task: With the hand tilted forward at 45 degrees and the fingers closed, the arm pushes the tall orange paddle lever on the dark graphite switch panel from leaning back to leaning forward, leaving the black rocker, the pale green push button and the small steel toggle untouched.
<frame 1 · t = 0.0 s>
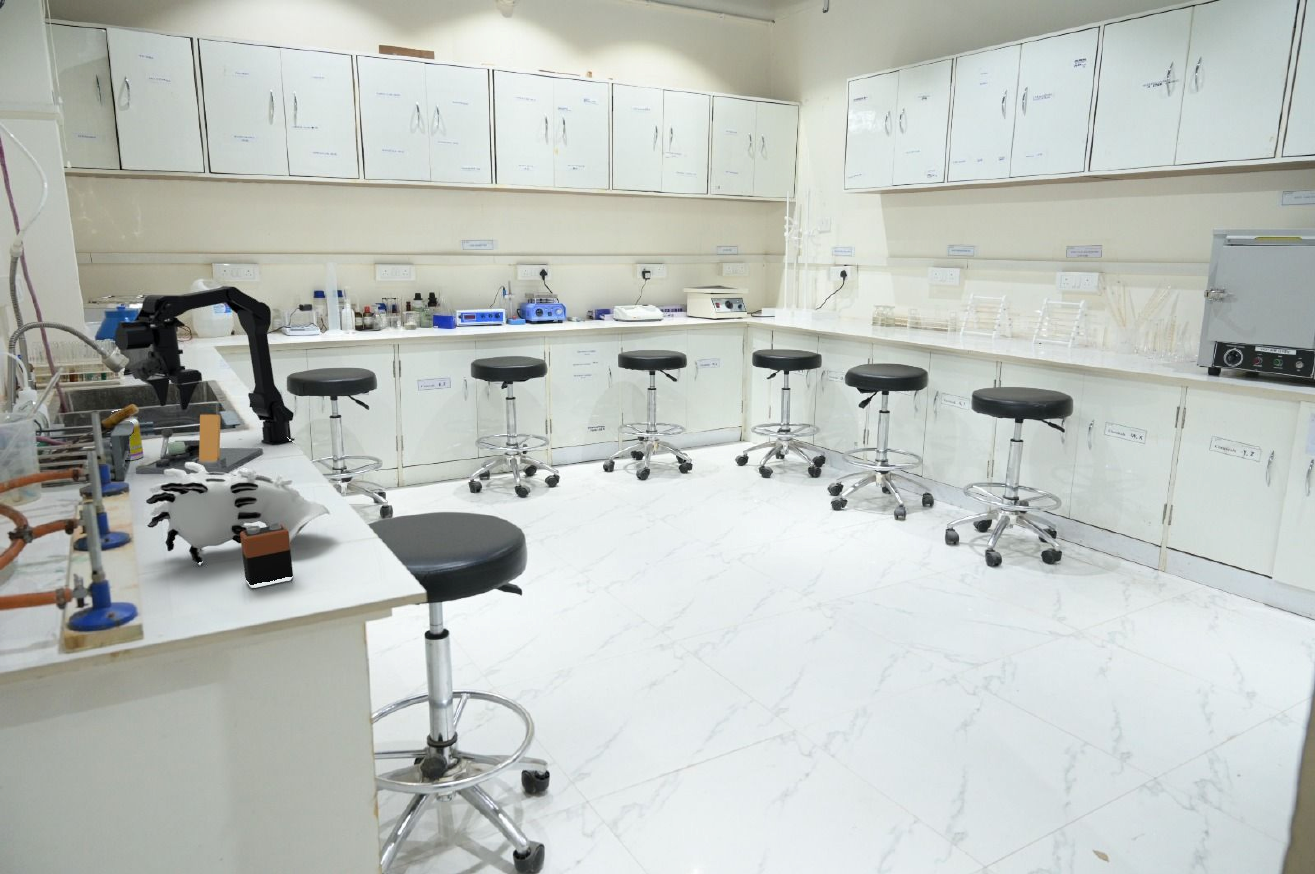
hand: (173, 407, 211), 15 cm above the countertop, tool pointing down, fingers open, 9 cm apart
battery: (269, 582, 141), on the countertop
paddle: (209, 440, 206), point 8 cm above the countertop, hinge at -15.0°
rocker: (190, 442, 220), point 4 cm above the countertop, hinge at -12.0°
yellow bottle: (129, 459, 220), on the countertop
toggle: (165, 443, 209), point 6 cm above the countertop, hinge at -30.0°
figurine: (247, 551, 155), on the countertop
panel: (202, 463, 215), on the countertop
button: (176, 447, 214), point 4 cm above the countertop, slide at 0.0 cm
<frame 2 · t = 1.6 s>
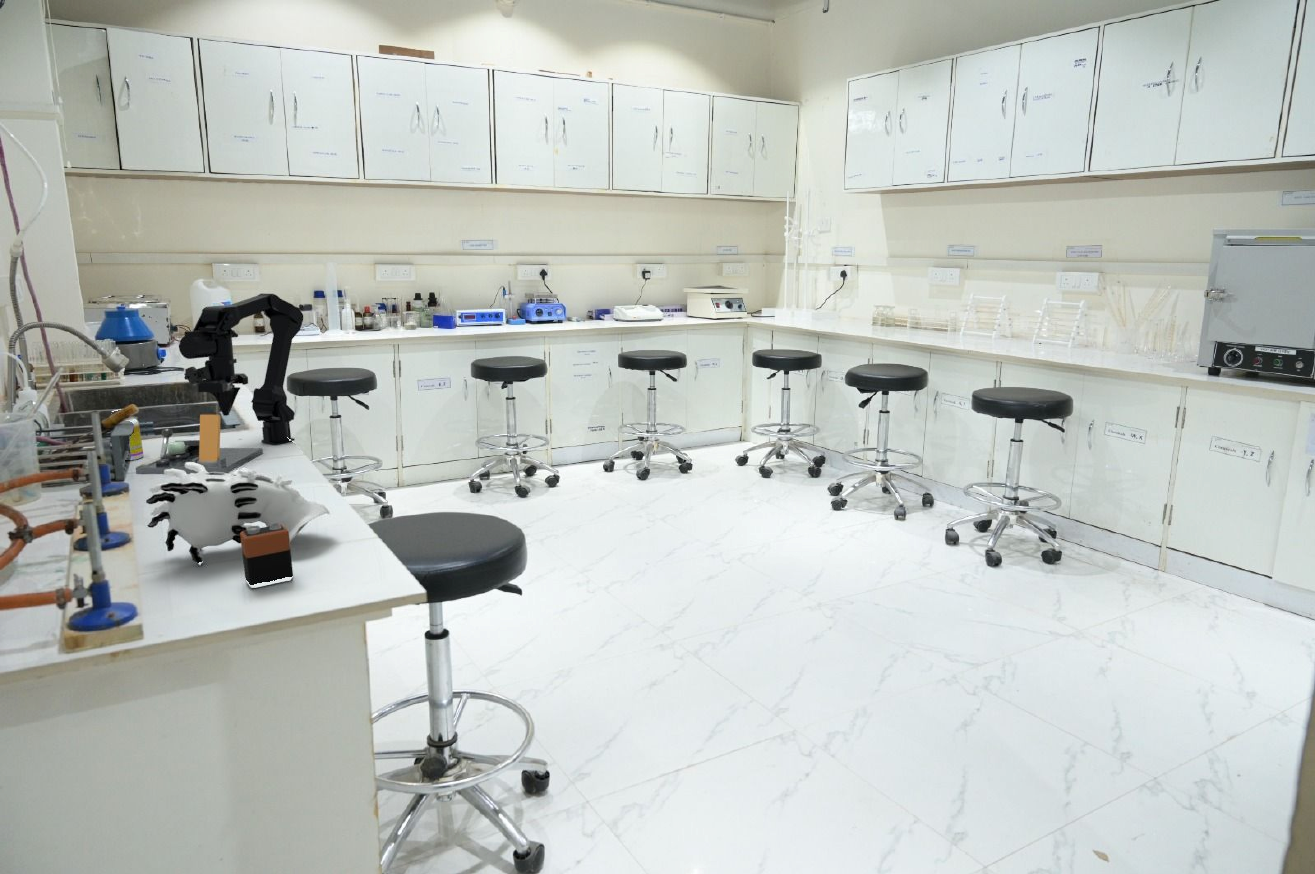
hand: (226, 415, 219), 11 cm above the countertop, tool pointing down, fingers closed
nothing on the countertop moved.
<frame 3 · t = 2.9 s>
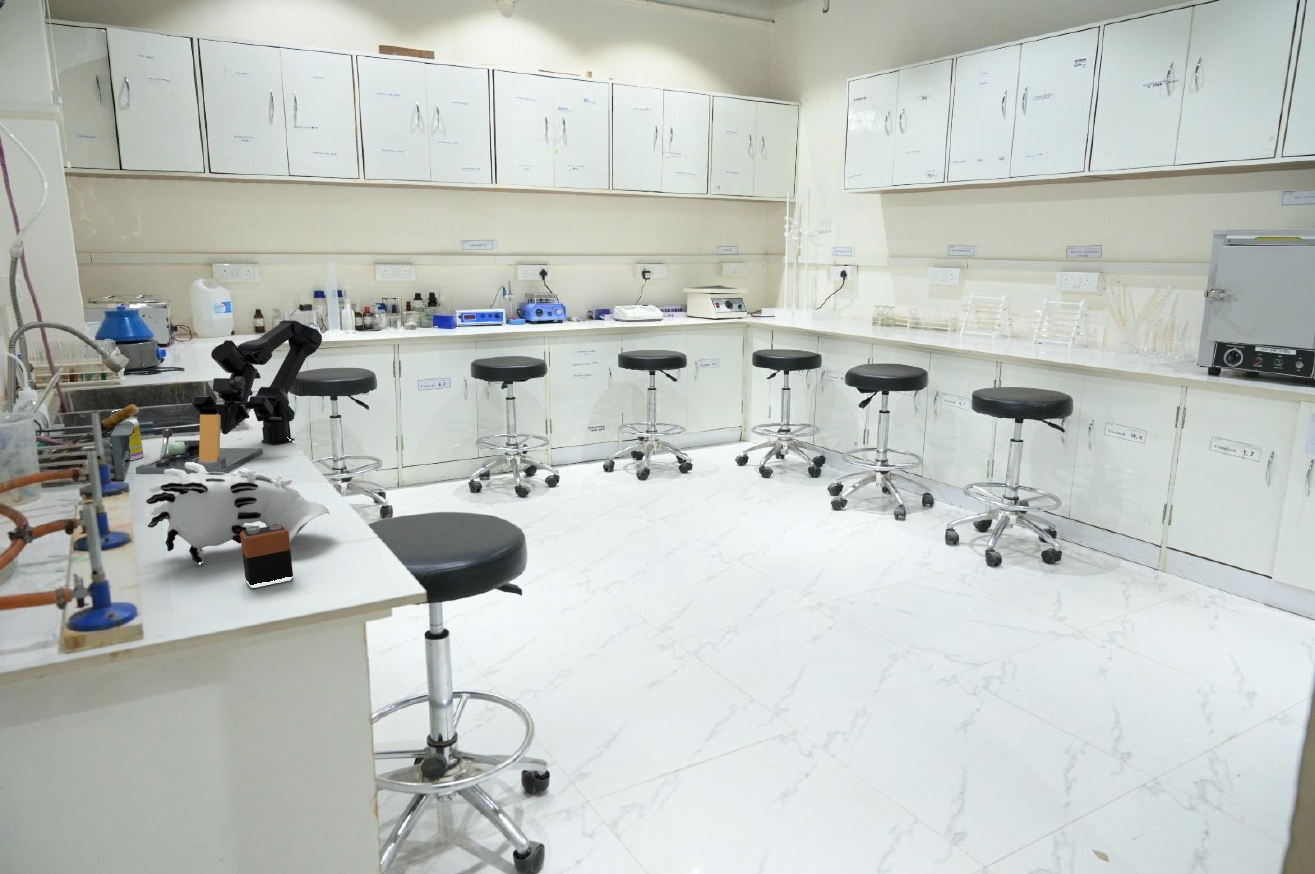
hand: (224, 433, 213), 8 cm above the countertop, tool tilted 45°, fingers closed
nothing on the countertop moved.
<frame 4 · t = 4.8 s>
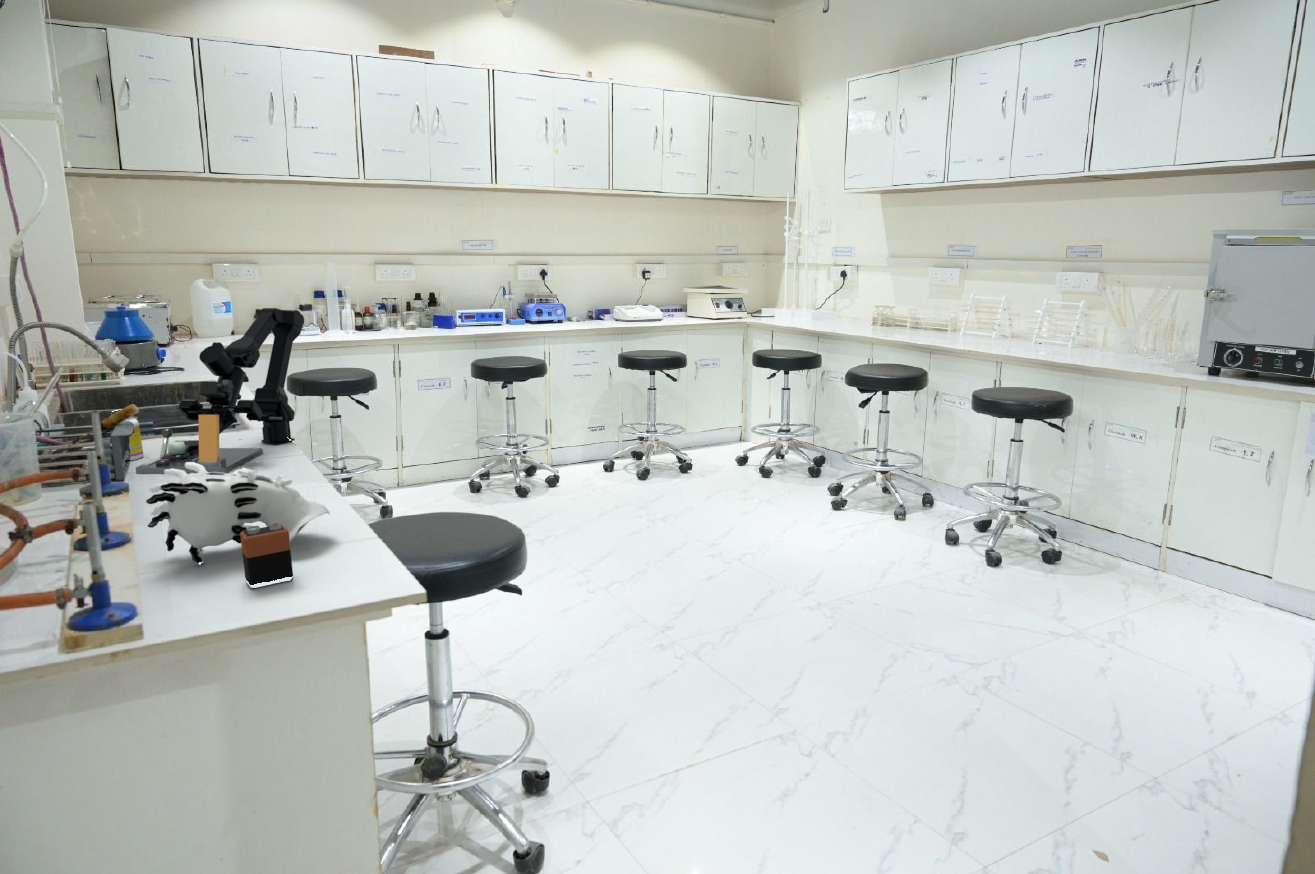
hand: (211, 438, 206), 8 cm above the countertop, tool tilted 45°, fingers closed, pressing on paddle
paddle: (209, 440, 205), point 8 cm above the countertop, hinge at -11.7°, touching gripper
everything else where it was.
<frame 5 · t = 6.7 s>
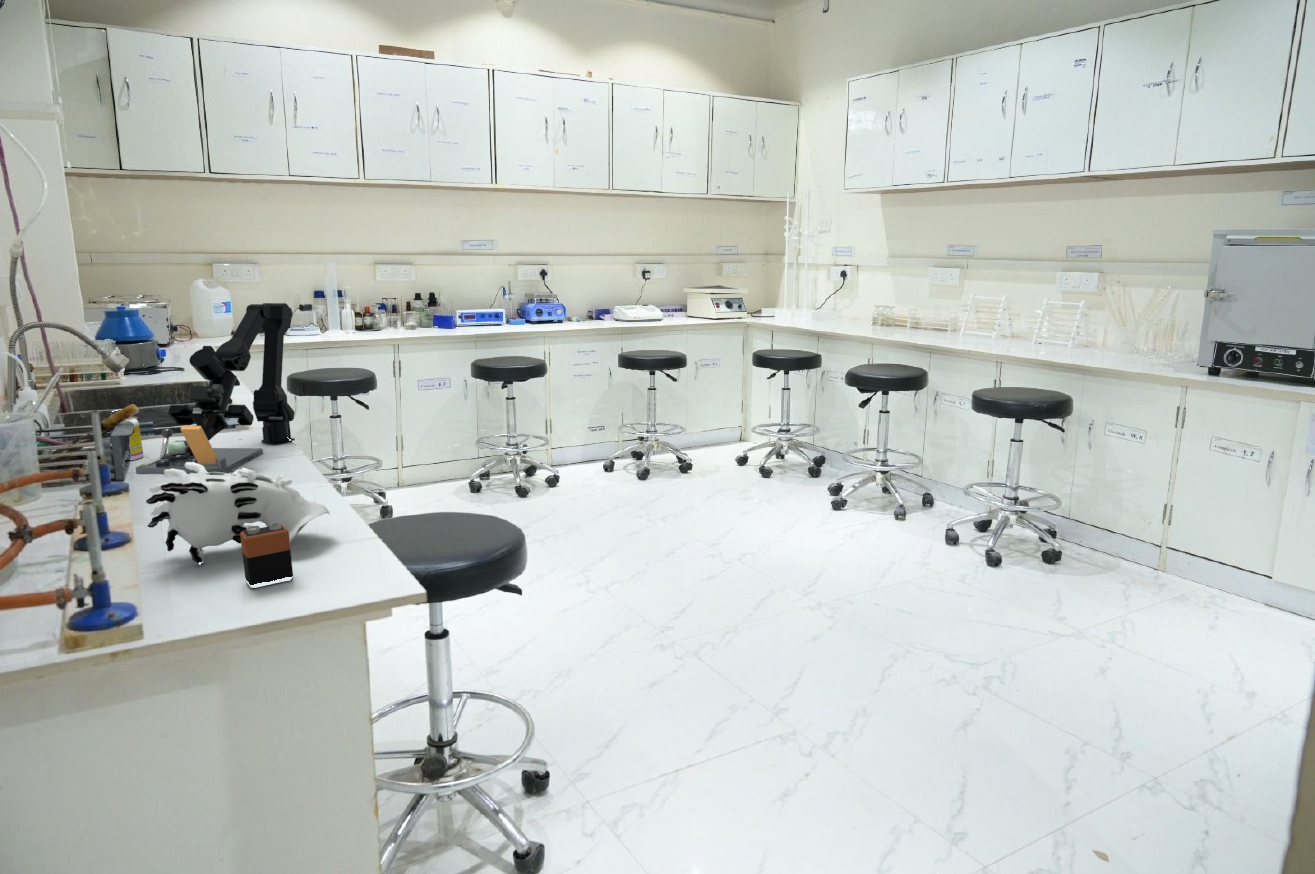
hand: (201, 444, 202), 8 cm above the countertop, tool tilted 45°, fingers closed, pressing on paddle
paddle: (200, 447, 202), point 7 cm above the countertop, hinge at 30.1°, touching gripper
everything else where it was.
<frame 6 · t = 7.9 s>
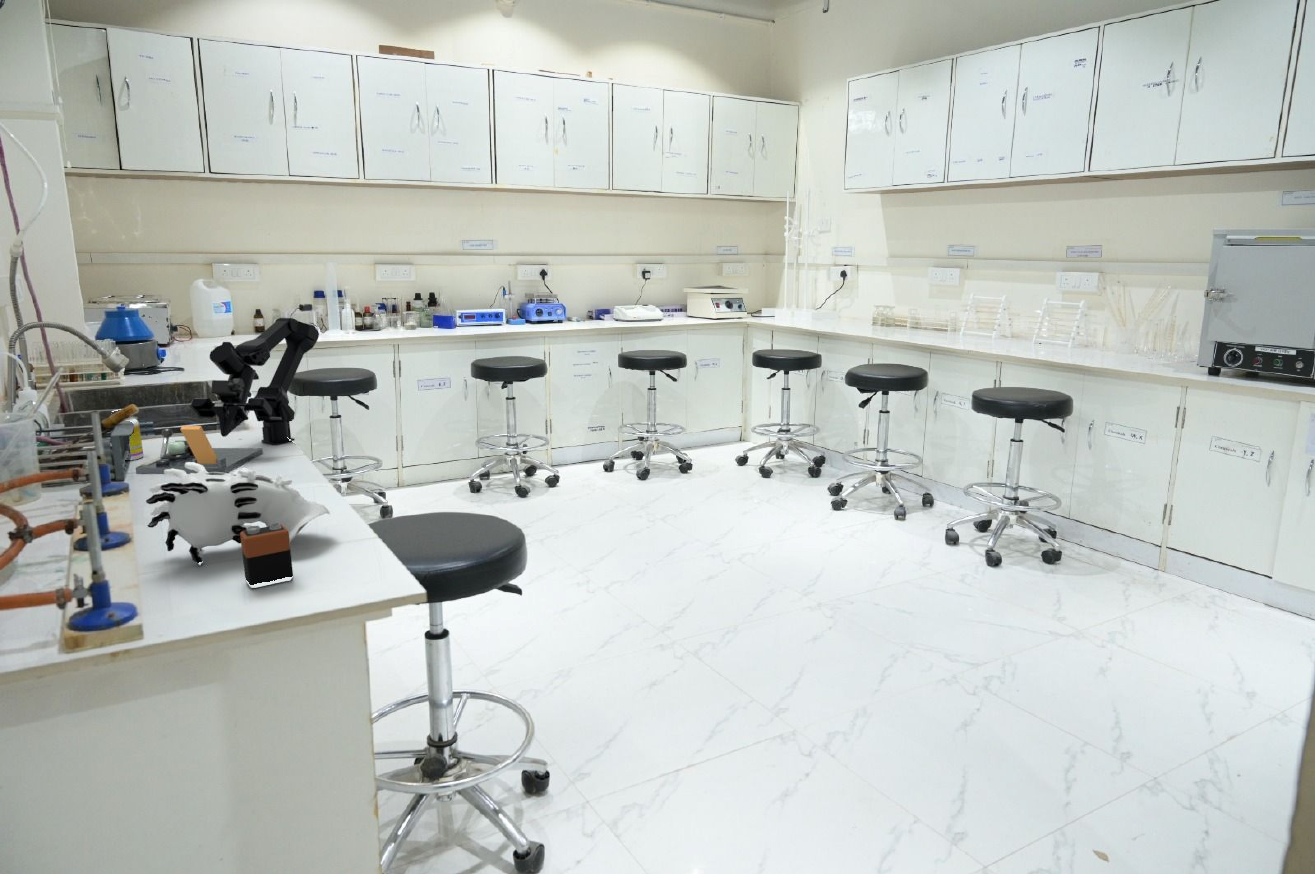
hand: (223, 435, 212), 8 cm above the countertop, tool tilted 45°, fingers closed
paddle: (200, 447, 202), point 7 cm above the countertop, hinge at 30.1°
everything else where it was.
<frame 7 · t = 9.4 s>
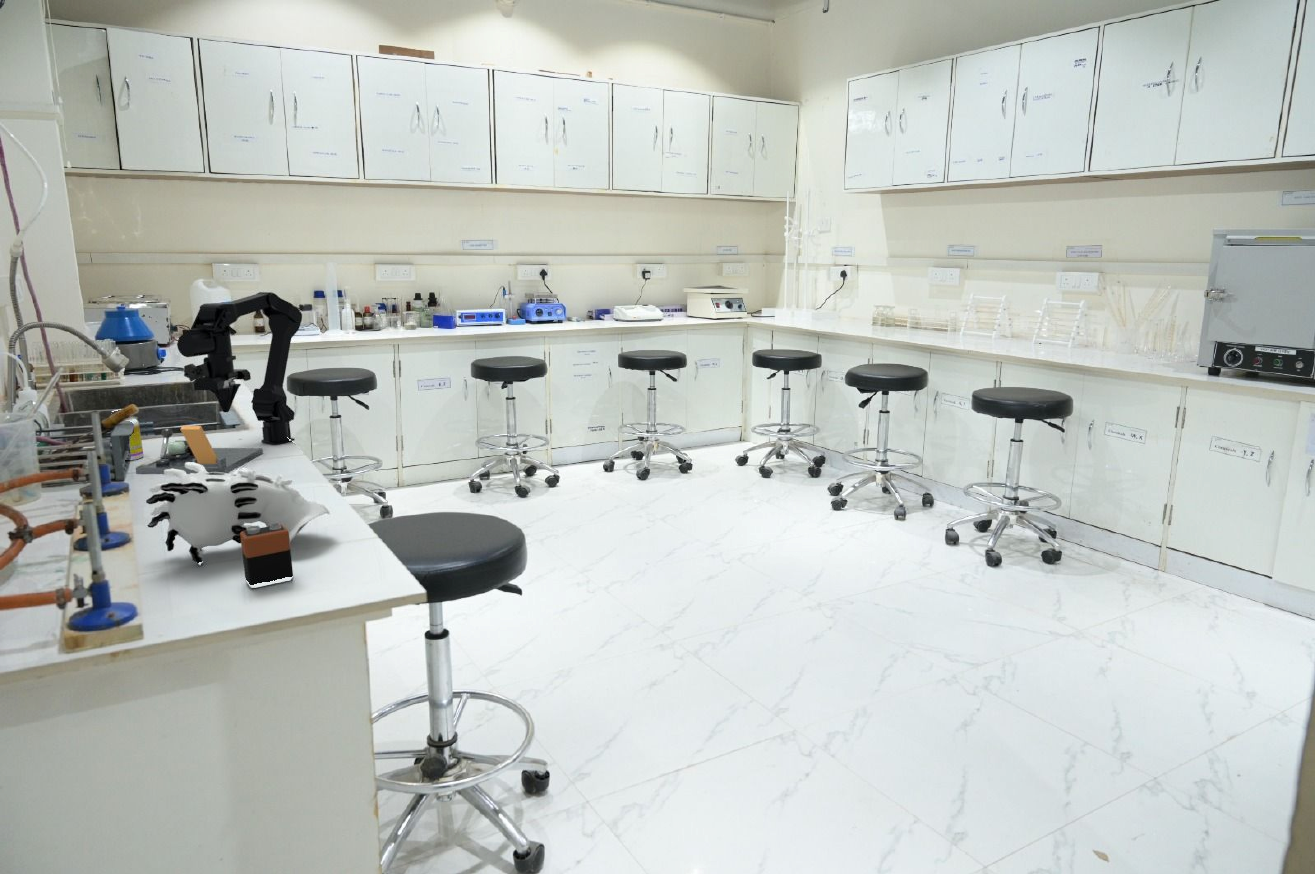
hand: (226, 412, 219), 12 cm above the countertop, tool pointing down, fingers closed
nothing on the countertop moved.
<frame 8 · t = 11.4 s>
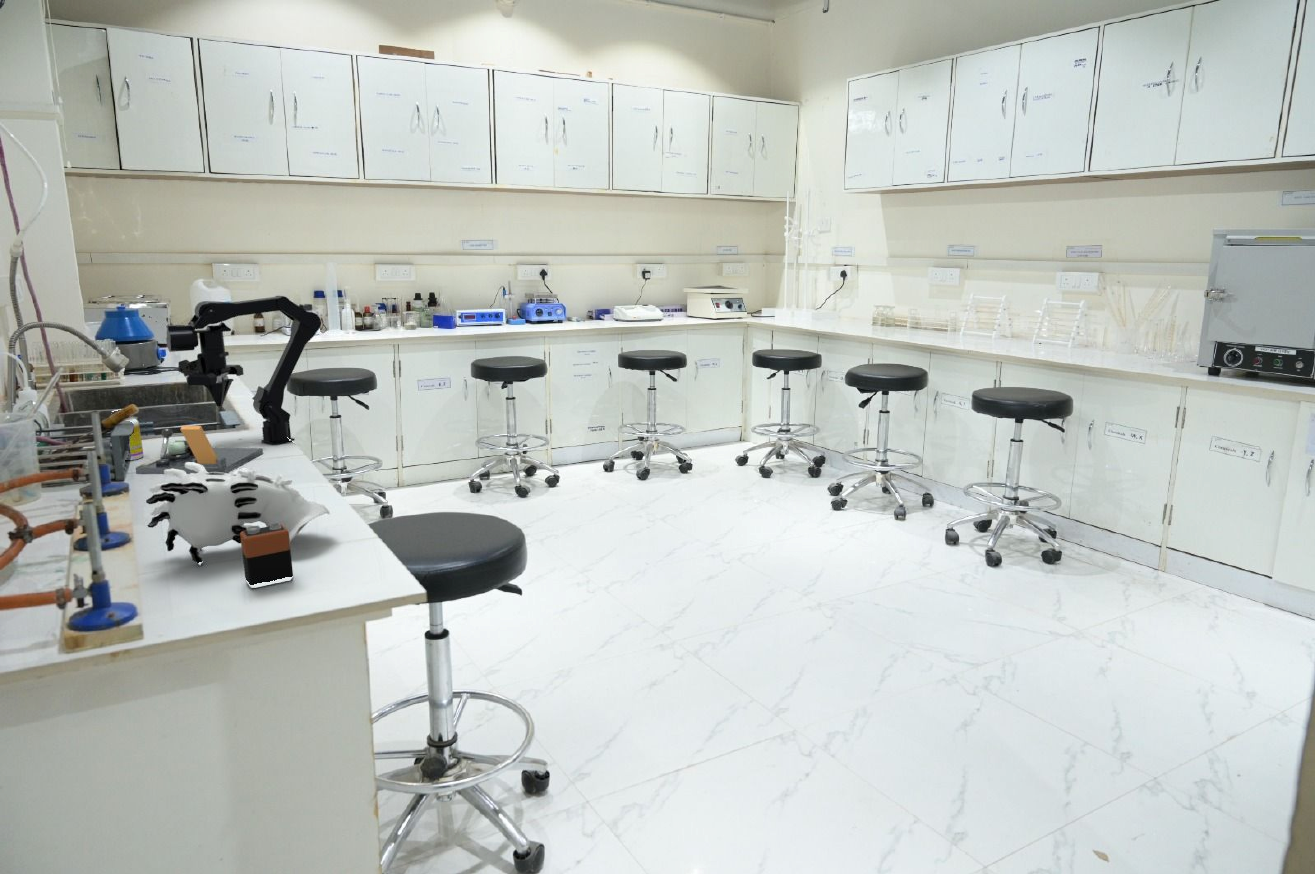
hand: (219, 406, 227), 12 cm above the countertop, tool pointing down, fingers closed
nothing on the countertop moved.
at the end: paddle at +30° (first picture: -15°); rocker at -12° (first picture: -12°); toggle at -30° (first picture: -30°) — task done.
